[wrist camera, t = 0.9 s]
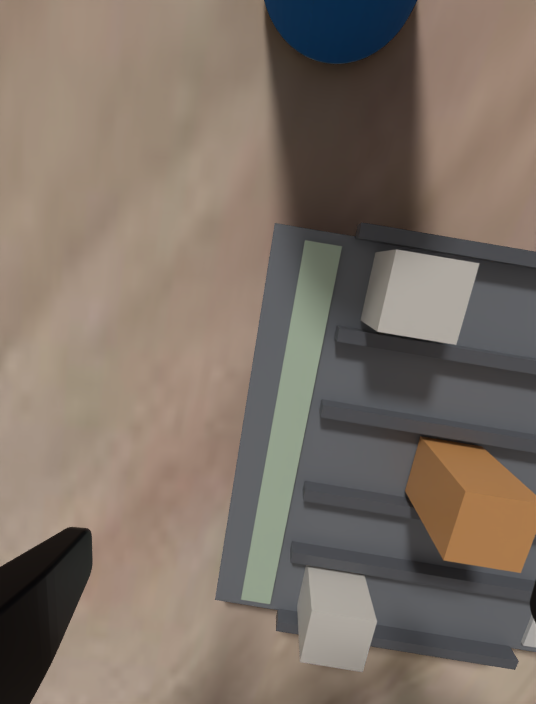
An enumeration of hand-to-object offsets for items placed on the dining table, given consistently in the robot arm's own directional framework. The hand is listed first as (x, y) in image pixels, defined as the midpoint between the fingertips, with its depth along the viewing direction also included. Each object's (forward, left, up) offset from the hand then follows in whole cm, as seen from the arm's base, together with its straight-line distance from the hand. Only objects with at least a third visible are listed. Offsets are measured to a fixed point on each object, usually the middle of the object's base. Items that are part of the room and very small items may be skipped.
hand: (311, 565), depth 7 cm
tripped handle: (-8, +3, -10) cm, 13 cm away
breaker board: (-8, +3, -13) cm, 15 cm away
